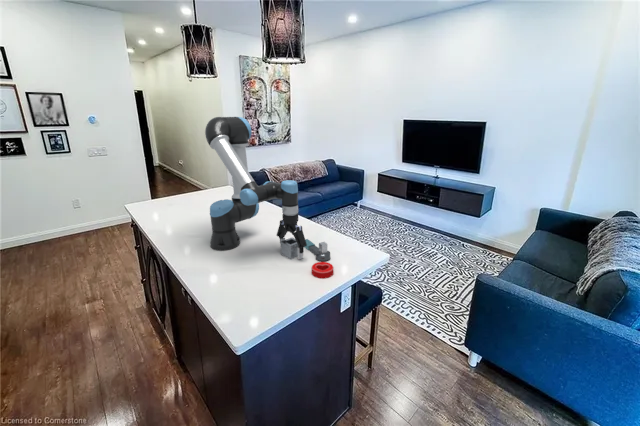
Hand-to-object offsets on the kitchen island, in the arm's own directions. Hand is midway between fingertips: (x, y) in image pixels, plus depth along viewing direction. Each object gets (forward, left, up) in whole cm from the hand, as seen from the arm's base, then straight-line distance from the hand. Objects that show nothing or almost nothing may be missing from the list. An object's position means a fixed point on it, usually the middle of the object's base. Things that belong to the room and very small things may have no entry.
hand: (291, 254), depth 146 cm
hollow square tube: (0, 0, 0) cm, 0 cm away
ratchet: (+7, +10, 0) cm, 12 cm away
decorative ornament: (+23, -2, -1) cm, 23 cm away
